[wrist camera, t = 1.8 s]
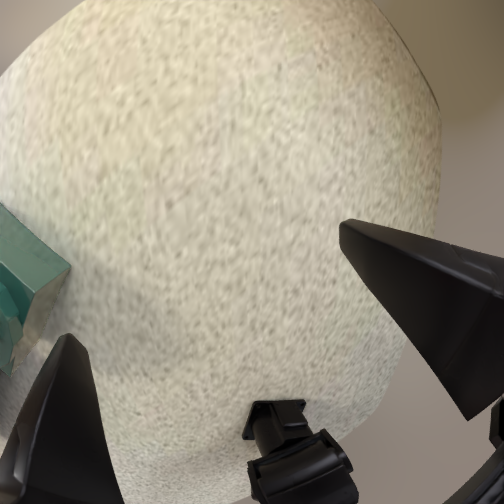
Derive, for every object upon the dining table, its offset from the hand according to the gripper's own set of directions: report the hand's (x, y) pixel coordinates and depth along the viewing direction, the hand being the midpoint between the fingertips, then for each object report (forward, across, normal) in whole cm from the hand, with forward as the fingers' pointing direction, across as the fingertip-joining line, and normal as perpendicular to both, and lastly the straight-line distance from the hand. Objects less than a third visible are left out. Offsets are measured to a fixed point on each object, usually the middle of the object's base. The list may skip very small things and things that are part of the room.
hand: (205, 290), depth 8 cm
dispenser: (+15, +18, +2) cm, 23 cm away
